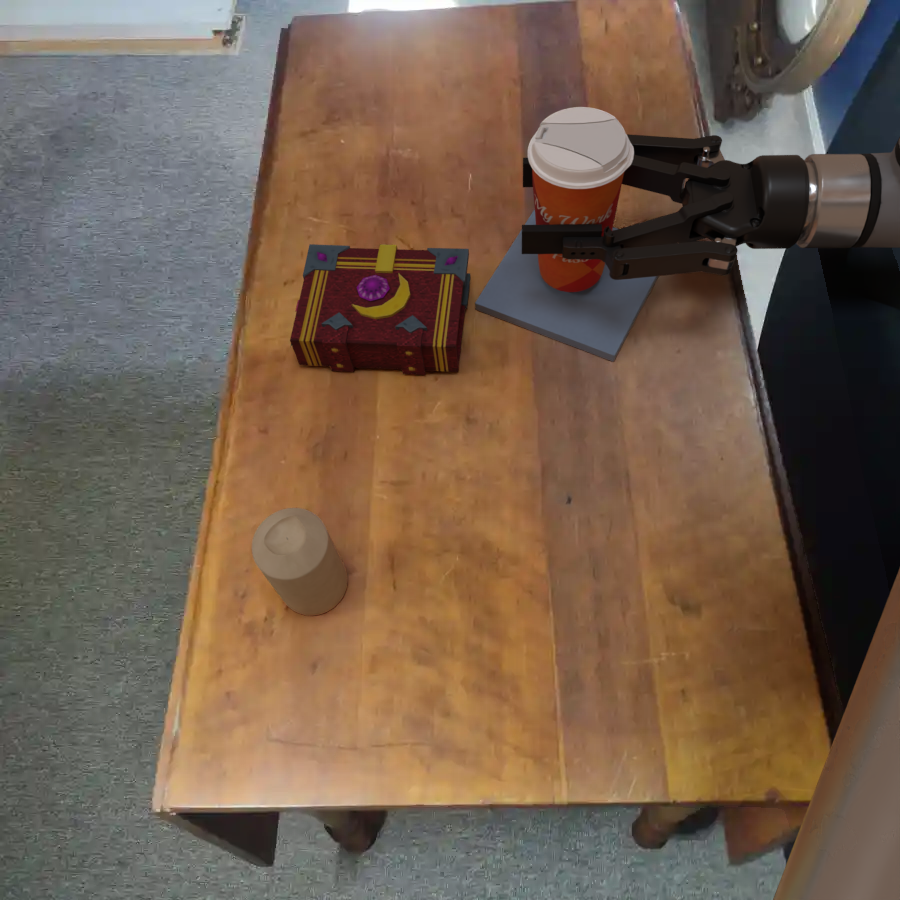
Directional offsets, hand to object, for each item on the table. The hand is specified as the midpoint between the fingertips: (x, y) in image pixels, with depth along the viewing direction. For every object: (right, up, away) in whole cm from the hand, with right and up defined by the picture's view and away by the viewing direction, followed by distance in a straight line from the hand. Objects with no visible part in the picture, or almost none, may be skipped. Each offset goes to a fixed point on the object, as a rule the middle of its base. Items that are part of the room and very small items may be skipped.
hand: (522, 205), depth 72 cm
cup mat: (+6, -5, +8) cm, 11 cm away
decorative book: (-13, -9, +8) cm, 17 cm away
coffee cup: (+5, -4, +7) cm, 9 cm away
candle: (-17, -32, -5) cm, 36 cm away
